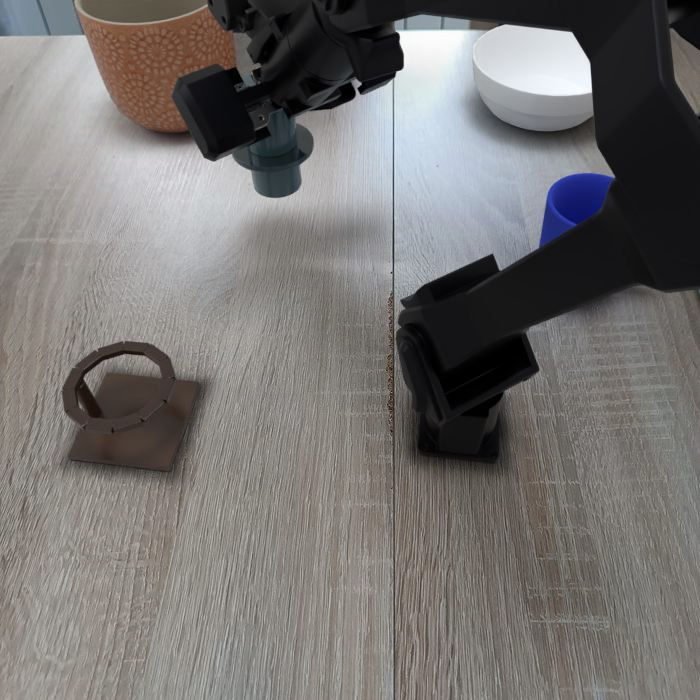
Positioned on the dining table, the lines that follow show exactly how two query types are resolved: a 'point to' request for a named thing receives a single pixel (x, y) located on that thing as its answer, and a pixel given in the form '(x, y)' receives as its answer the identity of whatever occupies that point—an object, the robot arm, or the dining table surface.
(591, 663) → the dining table surface
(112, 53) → the planter
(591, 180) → the mug
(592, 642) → the dining table surface
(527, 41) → the bowl
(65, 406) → the cup holder
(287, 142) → the blue-grey flanged cylinder
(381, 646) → the dining table surface
